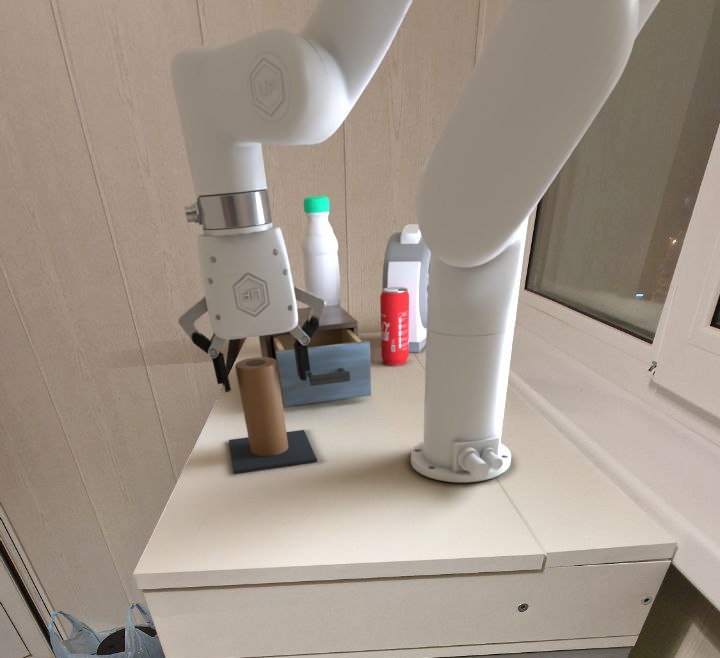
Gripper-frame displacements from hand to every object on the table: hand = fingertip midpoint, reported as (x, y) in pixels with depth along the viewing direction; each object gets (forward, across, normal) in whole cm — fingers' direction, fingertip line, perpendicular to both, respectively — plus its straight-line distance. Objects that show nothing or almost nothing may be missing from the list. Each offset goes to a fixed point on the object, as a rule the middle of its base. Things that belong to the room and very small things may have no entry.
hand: (265, 383), depth 71 cm
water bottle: (+9, +17, +52) cm, 56 cm away
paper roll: (+9, -1, 0) cm, 9 cm away
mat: (+9, -1, 0) cm, 9 cm away
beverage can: (+9, +27, +35) cm, 46 cm away
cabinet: (+9, +10, +33) cm, 36 cm away
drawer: (+8, +10, +21) cm, 24 cm away
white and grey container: (+9, +34, +46) cm, 58 cm away
